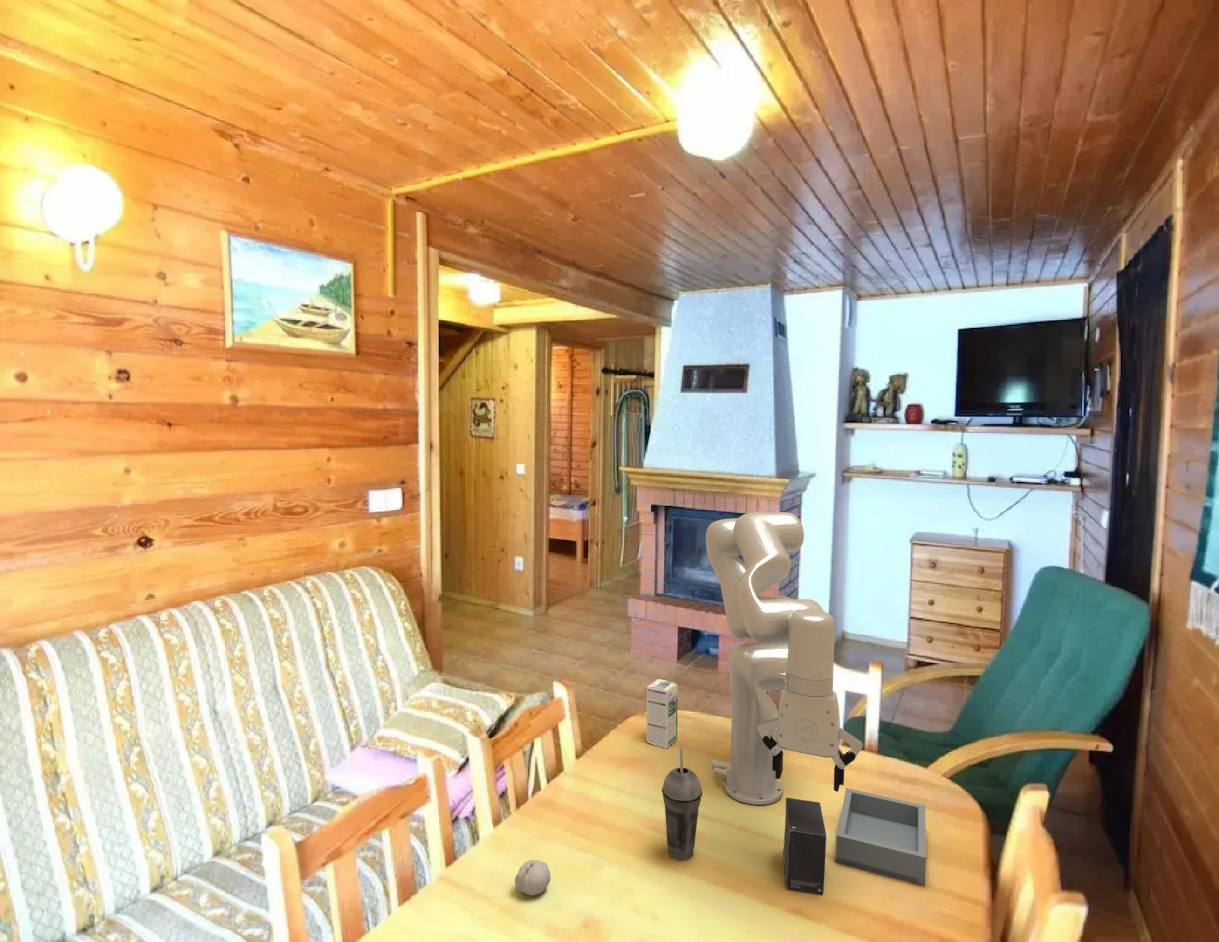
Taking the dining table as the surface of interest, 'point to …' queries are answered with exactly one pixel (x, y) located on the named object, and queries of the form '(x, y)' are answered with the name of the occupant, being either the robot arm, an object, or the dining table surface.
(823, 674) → the robot arm
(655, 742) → the syrup box
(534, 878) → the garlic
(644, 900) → the dining table surface
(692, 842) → the beverage cup
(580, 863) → the dining table surface
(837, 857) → the crate
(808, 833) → the small box
